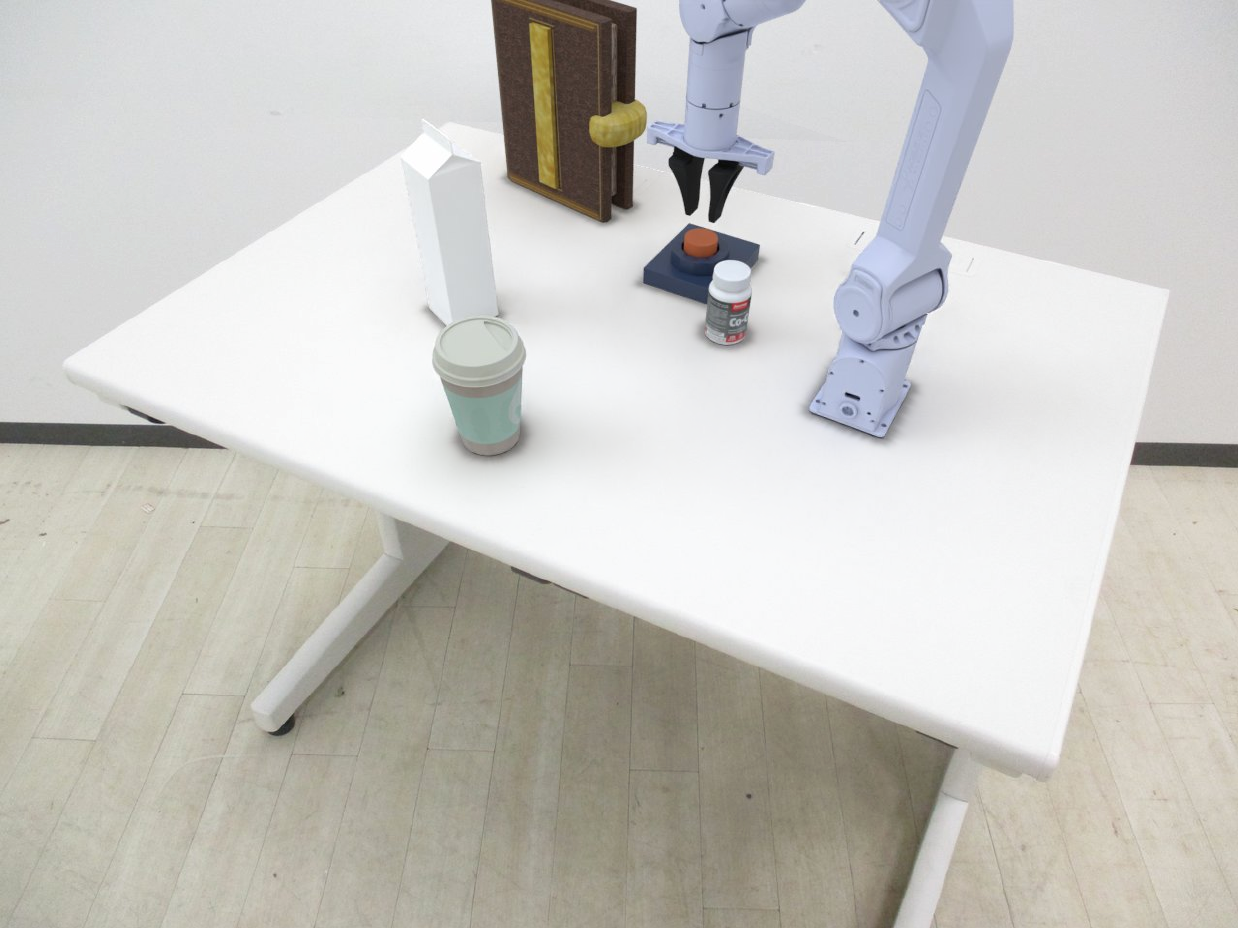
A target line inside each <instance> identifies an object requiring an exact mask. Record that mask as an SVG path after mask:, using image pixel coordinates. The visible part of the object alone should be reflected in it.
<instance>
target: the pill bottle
mask: <svg viewBox="0 0 1238 928" xmlns="http://www.w3.org/2000/svg"><path fill="white" fill-rule="evenodd" d="M751 277H752V268H750V267H749V266H748V265H746V264H745V263H743V262H740V261H736V260H726V261H722V262H719V263H718V264H717V265H716V266H715V267H714V272H713V280H712V282H711V283H710V285H709V291H708V301H707V304H706V312H705V323H704V333H705V336H706V337H707V338H708V339H709V340H711V341H712V342H714V343H716V344H719V345H722V346H723V345H724V346H730V345H735V344H738V343H741V341H743V340H744V339H745V337H746V335H747V331H748V330H747V329H748V323H749V315H750V309H751V303H752V297H753V296H752V294H753V287H752V285H751Z"/></svg>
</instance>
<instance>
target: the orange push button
mask: <svg viewBox="0 0 1238 928" xmlns="http://www.w3.org/2000/svg"><path fill="white" fill-rule="evenodd" d="M708 229H709V228H707V229H703V228H697V229H692V230H690V231H688V232H687V233H686V234H685V236H684V252H685V253H686V254H687V255H691V256H694V257H710V256H713V255H715V254H716V252H717V244H718V236H717V234H716V233H714V232H713V231H711V230H712V229H710V230H708Z"/></svg>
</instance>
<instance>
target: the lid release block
mask: <svg viewBox="0 0 1238 928" xmlns="http://www.w3.org/2000/svg"><path fill="white" fill-rule="evenodd" d="M697 228H703V229H708V230H711V231H713V232H714V233H716V234H717V236H718V244H717V252H716V254H715V255H713V256H710V257H694V256H691V255H687V254H686V253H685V252H684V236H685V234H686V233H687V232H688V231H690V230H692V229H697ZM760 249H761V244H760V243H757V242H753V241H750V240H746V239H743V238H740V237H736V236H733V235H730V234H727V233H723V232H720V231H717V230H713V229H710V228H706V227H704V226H701V225H698V224H697V225H696V224H694V223H690V222H689V223H688V224H686V226H684V227H683V229H681V230H680V232H678V233H677V234H676V235H675V236H674V237H673V238H672V239H671V240H670V241H669V242H668V243H667V244H666V245H665V246H664V247H663V248H662V249H661V250H660V251H659V252H658V253H657V254H656V255H655V256H654V257H652V259H651V260H650V261H649V262H648V263H646V264H645V266H644V267H643V274H642V277H643V278H642V283H643V284H645V285H649V286H650V287H654V288H657V289H660V290H663V291H666V292H669V293H672V294H676V295H678V296H681V297H683V298H687V299H690V300H692V301H695V302H698V303H702V304H704V305H707V301H708V291H709V285H710V283H711V282H712V280H713V272H714V267H715V266H716V265H717V264H718V263H719V262H722V261H726V260H736V261H740V262H743V263H745V264H746V265H748V266H749V267H750V269H752V267H753V266H754V265H755V264H756V263H757V262H758V260H759V256H760V251H761V250H760Z"/></svg>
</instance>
